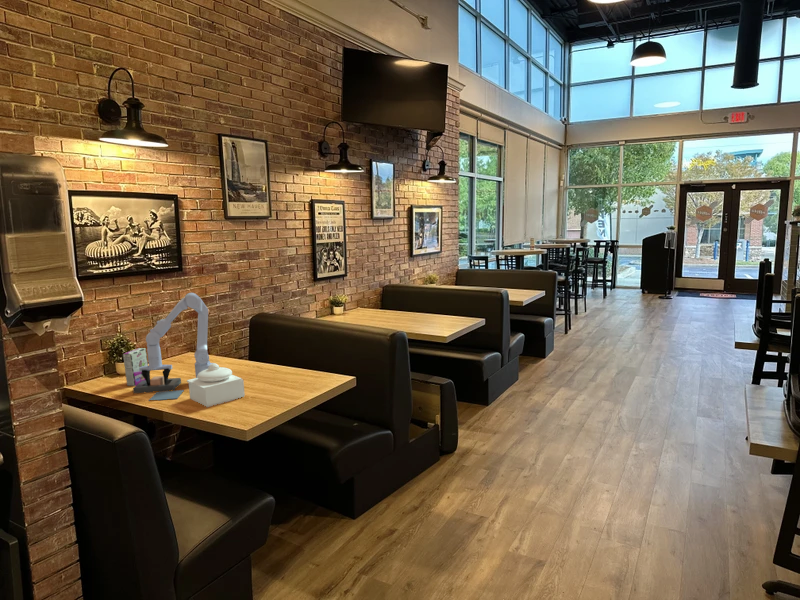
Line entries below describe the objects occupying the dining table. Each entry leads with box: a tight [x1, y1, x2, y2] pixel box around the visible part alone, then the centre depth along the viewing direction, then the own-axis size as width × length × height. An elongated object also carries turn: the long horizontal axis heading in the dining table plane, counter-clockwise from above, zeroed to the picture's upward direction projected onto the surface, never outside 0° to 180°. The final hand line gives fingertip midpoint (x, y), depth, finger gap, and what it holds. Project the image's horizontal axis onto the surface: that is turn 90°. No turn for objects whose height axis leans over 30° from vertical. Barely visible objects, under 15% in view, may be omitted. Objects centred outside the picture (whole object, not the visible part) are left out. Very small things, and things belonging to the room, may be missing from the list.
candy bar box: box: [122, 347, 149, 387], centre depth 263 cm, size 11×5×16 cm, turn 168°
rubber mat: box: [148, 389, 185, 402], centre depth 242 cm, size 12×12×1 cm
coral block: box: [150, 375, 165, 385], centre depth 254 cm, size 4×6×5 cm
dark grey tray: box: [132, 377, 182, 394], centre depth 254 cm, size 18×12×2 cm
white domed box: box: [186, 362, 246, 408], centre depth 235 cm, size 18×18×16 cm
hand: (157, 384), depth 254 cm, fingers open, 7 cm apart
